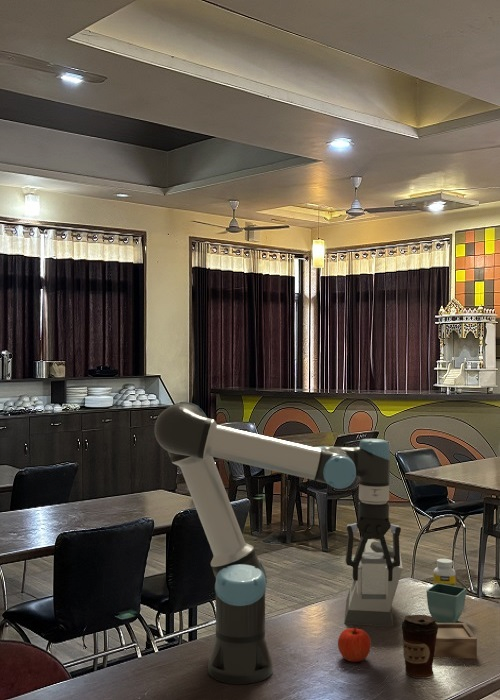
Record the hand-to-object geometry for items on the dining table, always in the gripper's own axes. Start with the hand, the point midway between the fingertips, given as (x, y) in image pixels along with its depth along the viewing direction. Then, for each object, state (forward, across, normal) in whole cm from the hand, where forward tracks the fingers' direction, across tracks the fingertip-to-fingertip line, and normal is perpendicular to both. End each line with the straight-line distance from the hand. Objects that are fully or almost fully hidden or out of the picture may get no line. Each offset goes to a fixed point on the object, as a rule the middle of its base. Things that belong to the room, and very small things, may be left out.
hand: (372, 593), depth 197 cm
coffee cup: (+14, +9, -14) cm, 22 cm away
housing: (+1, 0, 0) cm, 1 cm away
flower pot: (+14, +24, +21) cm, 35 cm away
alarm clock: (+15, +4, +28) cm, 32 cm away
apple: (+15, -5, -6) cm, 16 cm away
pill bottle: (+14, +28, +41) cm, 51 cm away
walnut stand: (+14, +20, +1) cm, 24 cm away
